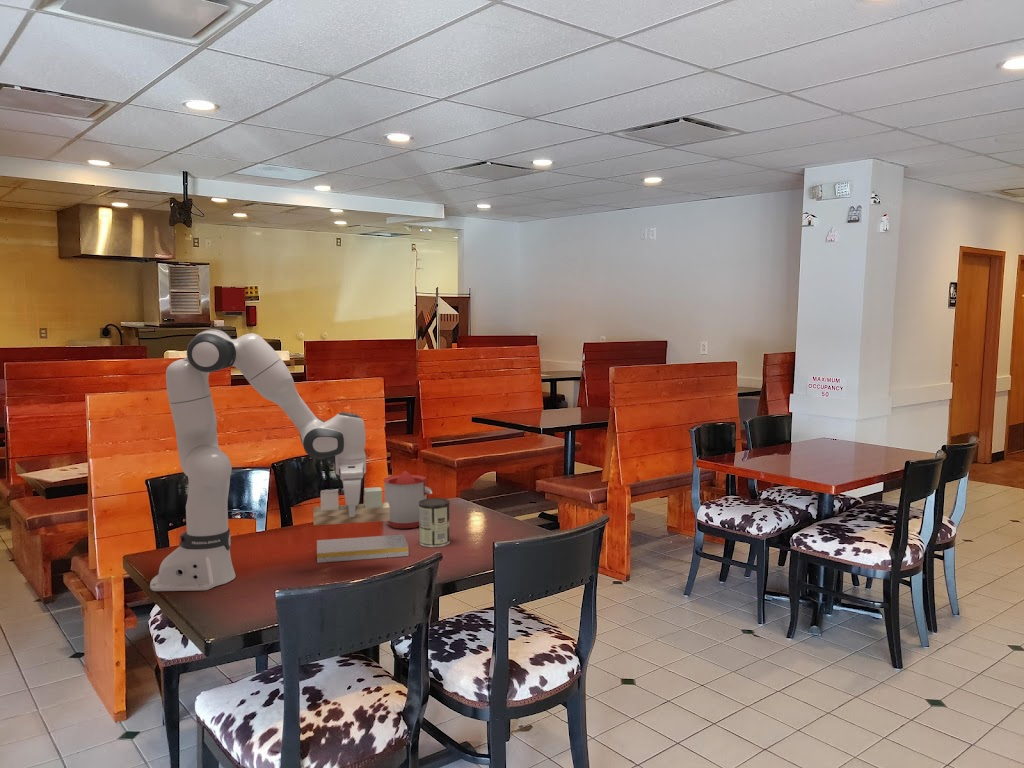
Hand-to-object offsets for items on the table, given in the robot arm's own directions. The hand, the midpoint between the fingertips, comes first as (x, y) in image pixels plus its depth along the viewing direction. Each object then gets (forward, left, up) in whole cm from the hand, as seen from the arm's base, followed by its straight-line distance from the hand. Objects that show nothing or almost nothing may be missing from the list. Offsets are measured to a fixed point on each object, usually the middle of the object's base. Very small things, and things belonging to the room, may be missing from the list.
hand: (351, 513), depth 227 cm
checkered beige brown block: (0, 0, -2) cm, 2 cm away
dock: (+4, +16, -17) cm, 23 cm away
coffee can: (+28, +21, -17) cm, 39 cm away
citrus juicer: (+22, +45, -17) cm, 52 cm away
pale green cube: (+6, 0, +2) cm, 7 cm away
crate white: (-6, 0, +2) cm, 7 cm away
